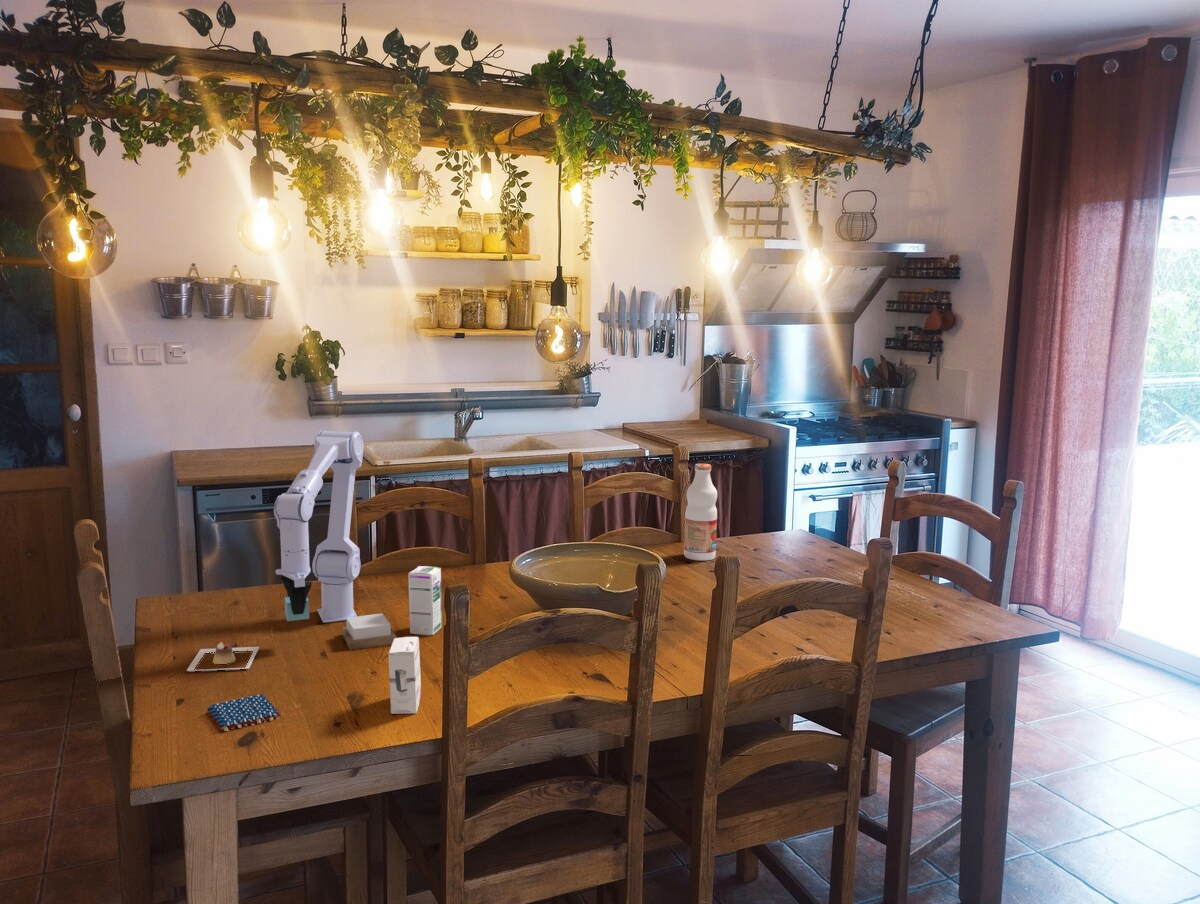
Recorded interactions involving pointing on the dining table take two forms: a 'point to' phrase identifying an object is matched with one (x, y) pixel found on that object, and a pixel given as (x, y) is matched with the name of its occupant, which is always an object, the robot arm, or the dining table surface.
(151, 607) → the dining table surface
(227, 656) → the dessert
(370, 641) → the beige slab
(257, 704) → the woven mat
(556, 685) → the dining table surface
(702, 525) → the fruit juice
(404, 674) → the ink box
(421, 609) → the syrup box
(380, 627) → the white slab
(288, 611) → the teal cube
